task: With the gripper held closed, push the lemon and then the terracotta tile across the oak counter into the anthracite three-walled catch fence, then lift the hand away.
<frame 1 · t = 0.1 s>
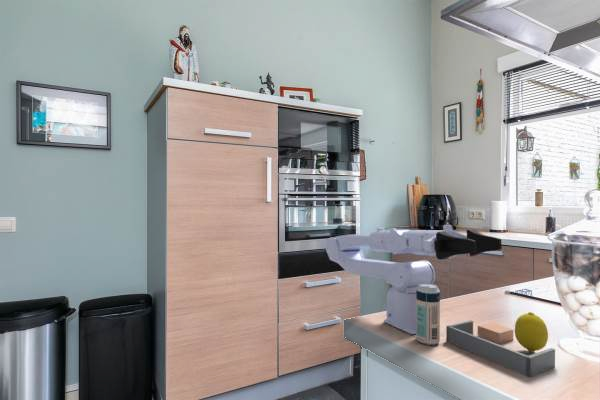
hand: (488, 245, 65), 22 cm above the worktop, tool horizontal, fingers open, 7 cm apart
lemon: (530, 353, 69), on the worktop
tile: (495, 338, 76), on the worktop
beer can: (427, 342, 73), on the worktop
catch fence: (496, 352, 68), on the worktop
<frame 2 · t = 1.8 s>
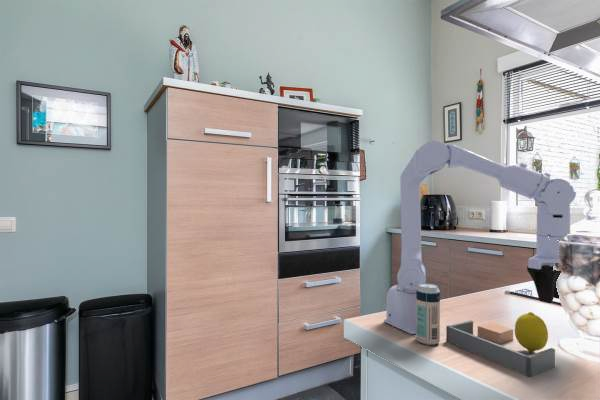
hand: (552, 300, 72), 9 cm above the worktop, tool pointing down, fingers open, 5 cm apart
nothing on the worktop moved.
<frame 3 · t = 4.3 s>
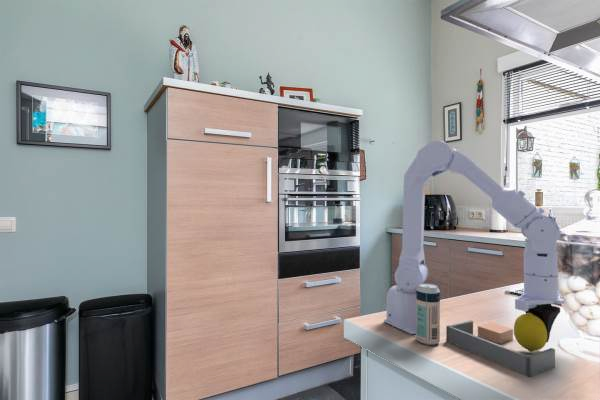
hand: (541, 340, 70), 2 cm above the worktop, tool pointing down, fingers closed, pressing on lemon
lemon: (530, 352, 69), on the worktop, touching gripper
everything else where it was.
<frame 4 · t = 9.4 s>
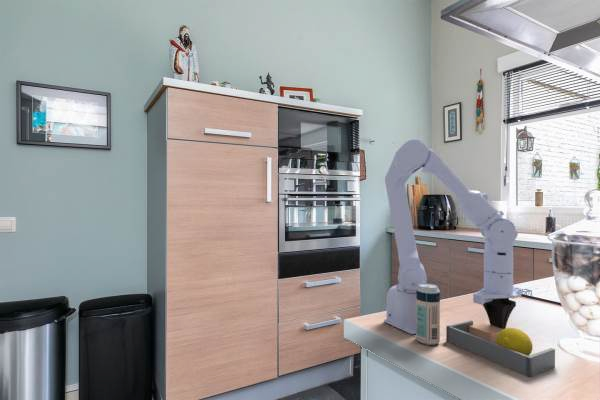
hand: (497, 332, 77), 1 cm above the worktop, tool pointing down, fingers closed
lemon: (522, 345, 68), point 2 cm above the worktop, touching catch fence
tile: (486, 339, 75), on the worktop, touching gripper
everything else where it was.
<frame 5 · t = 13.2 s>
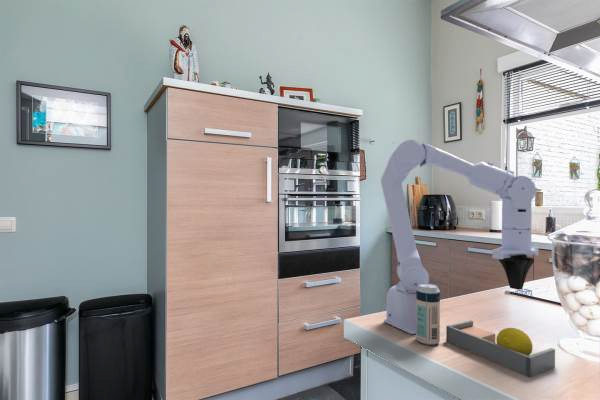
hand: (516, 288, 78), 10 cm above the worktop, tool pointing down, fingers closed
tile: (476, 343, 73), on the worktop
everything else where it was.
at the end: lemon inside the target area (4.7 cm from its centre), point 1.6 cm above the worktop; tile inside the target area (5.3 cm from its centre), on the worktop; tile tilted 0° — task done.
